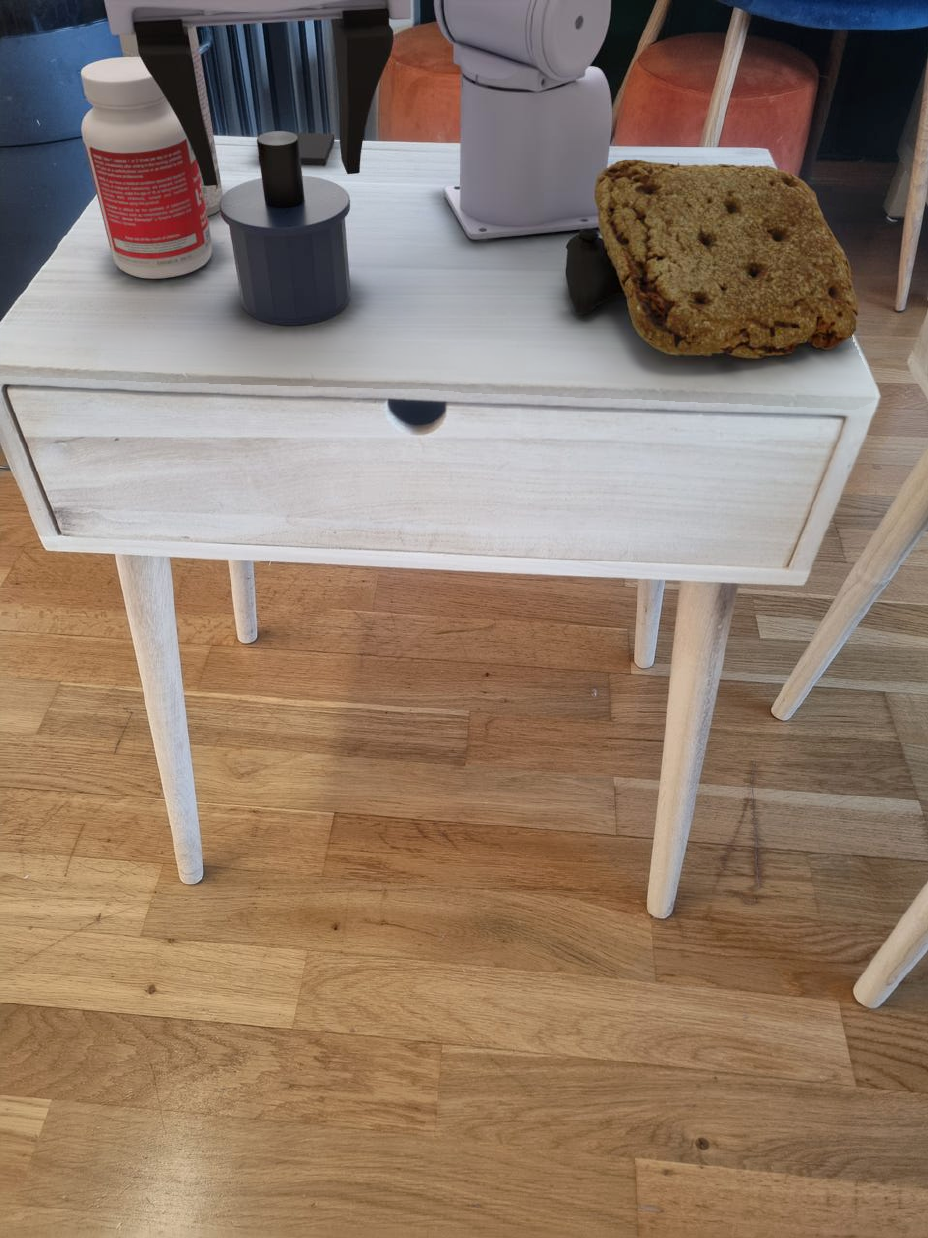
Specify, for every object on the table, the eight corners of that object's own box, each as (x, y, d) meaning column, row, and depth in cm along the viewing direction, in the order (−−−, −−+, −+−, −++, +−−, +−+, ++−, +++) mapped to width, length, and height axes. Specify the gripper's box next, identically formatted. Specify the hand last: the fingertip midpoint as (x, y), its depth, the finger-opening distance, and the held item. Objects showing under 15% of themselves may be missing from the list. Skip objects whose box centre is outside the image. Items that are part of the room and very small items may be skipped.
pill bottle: (229, 266, 62) (197, 73, 54) (135, 291, 60) (87, 93, 52) (191, 230, 66) (155, 44, 58) (100, 252, 63) (51, 61, 55)
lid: (358, 195, 58) (353, 115, 55) (341, 249, 53) (335, 165, 50) (237, 191, 58) (225, 112, 55) (209, 245, 53) (194, 161, 50)
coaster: (334, 140, 77) (334, 133, 77) (325, 165, 74) (324, 158, 73) (271, 138, 77) (270, 131, 77) (259, 163, 74) (258, 156, 74)
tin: (356, 275, 61) (349, 187, 58) (342, 327, 57) (334, 235, 53) (254, 272, 62) (241, 184, 58) (232, 323, 57) (216, 231, 53)
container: (186, 186, 71) (139, -64, 60) (238, 200, 69) (199, -55, 58) (141, 210, 68) (83, -49, 57) (194, 225, 66) (145, -38, 56)
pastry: (896, 272, 60) (926, 235, 58) (772, 443, 53) (800, 410, 50) (667, 115, 62) (686, 72, 59) (514, 259, 54) (528, 217, 52)
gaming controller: (577, 314, 57) (570, 222, 56) (554, 322, 61) (547, 237, 60) (720, 299, 58) (716, 209, 57) (687, 308, 63) (682, 225, 62)
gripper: (387, -156, 48) (397, 136, 58) (79, -149, 46) (143, 155, 55) (417, -131, 43) (422, 183, 53) (74, -122, 41) (145, 206, 51)
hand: (281, 172), depth 54 cm, fingers open, 7 cm apart
